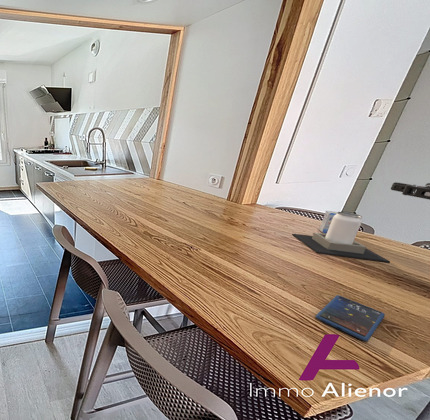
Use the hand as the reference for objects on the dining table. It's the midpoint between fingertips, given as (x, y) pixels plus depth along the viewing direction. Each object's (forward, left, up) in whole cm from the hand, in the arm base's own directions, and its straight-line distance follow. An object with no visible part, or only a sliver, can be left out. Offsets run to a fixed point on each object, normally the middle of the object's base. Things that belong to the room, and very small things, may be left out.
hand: (409, 186), depth 68 cm
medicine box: (-5, -27, -25) cm, 37 cm away
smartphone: (+24, +33, -25) cm, 48 cm away
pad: (+3, -11, -25) cm, 27 cm away
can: (+3, -11, -25) cm, 27 cm away
